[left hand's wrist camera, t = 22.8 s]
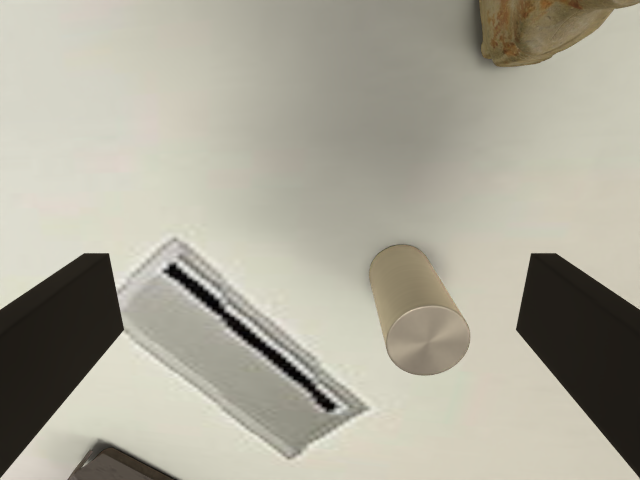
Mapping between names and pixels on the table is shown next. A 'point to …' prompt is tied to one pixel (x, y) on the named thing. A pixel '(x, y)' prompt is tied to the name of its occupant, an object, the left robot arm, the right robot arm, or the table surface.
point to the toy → (114, 468)
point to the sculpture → (539, 27)
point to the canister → (416, 312)
